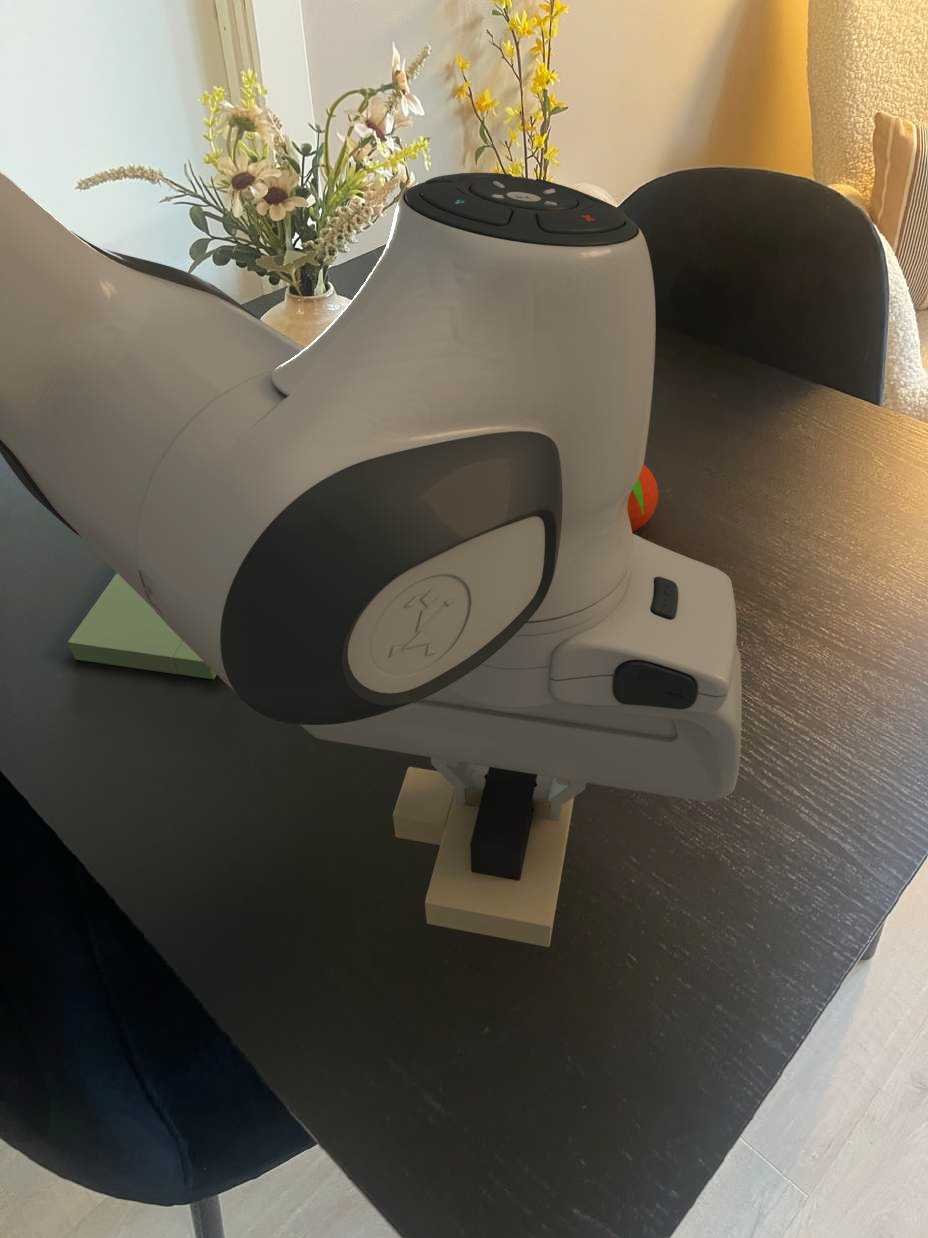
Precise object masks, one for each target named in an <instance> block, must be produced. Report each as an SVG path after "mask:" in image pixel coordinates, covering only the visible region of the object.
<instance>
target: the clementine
mask: <svg viewBox="0 0 928 1238" xmlns="http://www.w3.org/2000/svg"><path fill="white" fill-rule="evenodd" d="M658 501H659V489H658V483H657V481H656V478H655V476H654V474H653V472H652V471H651V470H650V469H649V468H648V467H647V466H646V464H645V463H644V464H643V467H642V470H641V473H640V475H639V478H638V480H637V482H636V484H635V486H634V488H633V490H632V492H631V494H630V496H629V500H628V506H627V510H628V515H629V519H630V523H631V528H632V533H633V532H636V531H637V530H639V529H640V528H642V527H643V526H644V525H646V524H647V523H648V521H649V520H650V519H651V517H652V516H653V515H654V513H655V510H656V507H657V505H658Z"/></svg>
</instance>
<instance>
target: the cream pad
mask: <svg viewBox="0 0 928 1238" xmlns="http://www.w3.org/2000/svg"><path fill="white" fill-rule="evenodd" d="M536 777H537V775H536V774H530V773H524V772H518V771H512V770H506V769H500V768H493V767H489V770H488V774H487V778H486V782H485V786H484V790H483V794H482V798H481V802H480V806H479V807H474V806H467V805H459V804H456V796H455V786H452V785H451V784H450V783H449V782H448V781H447V779H446V778H445V777H444V776H443V775H442V774H441V773H440V772H439V771H438V770H430V769H425V768H419V767H415V766H414V767H413V766H409V767H407V770H406V772H405V776H404V778H403V779H404V780H403V782H402V785H401V789H400V791H399V795H398V797H397V800H396V804H395V807H394V810H393V813H392V818H393V819H392V820H393V821H392V822H393V828H394V835H395V838H397V839H403V840H409V841H415V842H421V843H427V844H431V845H436V846H437V845H438V846H439V849H438V853H437V857H436V859H435V864H434V867H433V871H432V874H431V879H430V882H429V886H428V889H427V893H426V895H425V900H424V909H425V910H424V911H425V919H426V920H425V921H426V924H427V925H434V926H437V927H442V928H446V929H447V928H448V929H452V930H457V931H458V930H459V931H462V932H468V933H474V934H479V935H483V936H488V937H494V938H498V939H499V938H500V939H505V940H510V941H513V942H520V943H525V944H529V945H536V946H540V947H545V948H550V946H551V940H552V933H553V927H554V921H555V915H556V910H557V903H558V897H559V893H560V892H559V891H560V885H561V880H562V874H563V867H564V862H565V856H566V850H567V843H568V837H569V832H570V825H571V819H572V813H573V806H574V803H575V797H573V798H572V799H570V800H569V801H568V802H566V803H565V804H563V805H562V811H561V817H560V821H559V822H558V821H552V820H547V819H542V818H537V817H532V816H531V812H532V797H533V792H534V787H535V783H536Z"/></svg>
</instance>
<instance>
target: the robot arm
mask: <svg viewBox="0 0 928 1238" xmlns="http://www.w3.org/2000/svg"><path fill="white" fill-rule="evenodd" d="M650 255H651V254H650V251H649V248H648V243H647V241H646V238H645V236H644V234H643V232H642V230H641V229H640V227H639V226H638V224H637V223H635V221H633V220H632V219H631V218H630V217H628V215H626V213H625V211H624V210H621V209H620V208H619V207H617V206H615V205H613V204H611V203H609V202H607V201H605V200H602V199H600V198H598V197H596V196H592V195H590V194H587V193H585V192H582V191H580V190H578V189H574V188H572V187H569V186H566V185H562V184H559V183H556V182H552V181H549V180H545V179H542V178H537V177H536V178H535V179H534V178H530V177H524V176H523V177H522V176H515V175H512V174H511V173H502V172H501V173H499V172H459V173H453V174H452V173H451V174H445V175H439V176H435V177H432V178H429V179H427V180H425V181H424V182H419V183H417V184H415V185H413V186H411V187H409V188H407V189H406V190H405V191H404V192H403V193H401V195H400V197H399V198H398V201H397V203H396V207H395V210H394V214H393V219H392V224H391V228H390V233H389V237H388V240H387V243H386V246H385V248H384V250H383V252H382V254H381V256H380V257H379V259H378V261H377V262H376V264H375V265H374V267H373V269H372V271H371V272H370V273H369V275H368V276H367V278H366V280H365V281H364V283H363V284H362V286H361V287H360V288H359V290H358V291H357V293H356V294H355V295H354V297H353V298H352V299H351V301H350V302H349V303H348V304H347V305H346V306H345V308H344V309H343V310H342V311H341V312H340V314H339V315H338V316H337V317H336V318H335V319H334V320H333V321H332V323H330V325H329V326H328V327H327V328H326V329H325V330H324V331H323V332H322V333H321V334H320V335H319V336H318V337H316V338H315V339H314V340H313V341H312V342H311V343H309V345H308V346H306V347H305V346H303V344H301V343H299V342H297V341H296V340H294V339H292V338H290V337H289V336H287V335H285V334H284V333H282V332H281V331H279V330H278V329H276V328H274V327H272V326H270V325H269V324H267V323H266V322H264V321H262V320H261V319H260V318H259V317H258V316H257V315H255V314H254V313H253V312H251V311H250V310H249V309H247V308H246V307H245V306H243V304H240V302H238V301H236V300H235V299H234V298H233V297H231V296H230V295H228V294H227V293H225V292H224V291H223V290H221V289H220V288H219V287H217V286H215V285H214V284H212V283H210V282H209V281H207V280H205V279H203V278H201V277H199V276H197V275H195V274H192V273H190V272H187V271H185V270H183V269H178V268H177V267H173V266H170V265H167V264H162V263H159V262H155V261H151V260H147V259H144V258H139V257H136V256H131V255H127V254H123V253H120V252H116V251H113V250H109V249H106V248H104V247H101V246H97V245H94V244H93V243H91V242H90V241H88V240H86V239H84V238H83V237H81V236H80V235H78V234H77V233H75V232H74V231H72V230H70V229H69V227H68V228H67V226H66V225H64V224H63V223H62V222H61V221H59V219H57V217H55V216H54V215H53V214H52V213H50V211H48V210H47V209H45V208H44V207H43V206H42V205H41V204H39V203H38V202H37V201H36V200H35V199H33V197H31V195H29V194H28V193H27V192H26V191H25V190H23V189H22V188H21V187H20V186H19V185H18V184H16V183H15V182H14V181H13V180H12V179H10V178H9V177H8V176H7V175H6V174H4V173H3V172H2V171H1V170H0V454H1V456H2V458H3V459H4V460H5V462H6V463H7V465H8V466H9V468H10V469H11V471H12V472H13V473H14V474H15V476H16V477H17V479H18V481H20V483H21V484H22V485H23V486H24V488H26V490H27V491H28V492H29V493H30V494H31V495H32V496H33V497H34V499H36V500H37V502H39V503H40V504H41V505H42V506H43V507H44V508H45V509H47V510H48V511H49V512H50V513H51V514H52V515H53V516H55V518H57V519H58V520H59V521H60V522H61V523H62V524H63V525H65V526H66V527H67V528H68V529H69V530H71V532H73V533H74V534H75V535H77V536H78V537H80V538H82V539H83V540H84V541H85V543H87V544H88V545H89V546H90V547H91V548H92V549H93V550H94V551H95V552H96V553H97V554H98V555H99V556H100V557H101V558H102V559H103V560H104V561H105V562H106V563H107V564H108V565H109V566H110V568H112V569H113V570H114V571H115V572H116V574H117V573H118V574H119V575H120V576H121V577H122V578H123V579H124V580H125V581H126V582H127V583H128V584H129V585H130V586H131V587H132V588H133V589H134V590H135V591H136V592H137V593H138V594H139V595H140V596H141V597H142V598H143V599H144V600H145V601H146V602H147V603H148V604H149V605H150V606H151V607H152V608H153V609H154V611H155V612H156V613H157V614H158V615H159V616H160V617H161V618H162V619H163V621H164V622H165V623H166V624H167V625H168V626H169V627H170V628H171V629H172V630H173V631H174V632H175V633H176V634H177V635H178V636H179V637H180V638H181V639H182V640H183V641H184V642H185V643H186V644H187V645H188V646H189V647H190V648H191V649H192V650H193V651H194V652H195V653H196V654H197V655H198V656H199V657H200V658H201V659H202V660H203V661H204V662H205V663H206V664H207V665H208V666H209V667H210V668H211V669H212V670H213V671H214V672H215V673H216V674H217V675H216V676H218V677H219V678H220V679H221V680H222V681H223V683H225V684H226V685H227V686H228V687H229V688H230V689H231V690H232V691H234V693H236V694H237V696H238V697H239V699H240V700H242V701H243V702H244V703H245V705H247V706H248V707H250V709H252V710H254V711H255V712H257V713H258V714H260V715H262V716H264V717H266V718H268V719H271V720H274V721H277V722H281V723H285V724H291V725H300V726H301V727H302V728H303V729H304V730H305V731H306V732H308V734H310V735H311V736H312V737H314V738H315V739H318V740H323V741H327V742H335V743H341V744H346V745H347V744H348V745H354V746H358V747H367V748H371V749H377V750H378V749H379V750H384V751H390V752H396V753H402V754H409V755H414V756H421V757H426V758H430V765H432V766H433V767H434V769H435V770H436V771H438V772H440V773H441V774H442V775H443V776H444V777H445V778H446V779H447V781H448V782H449V783H450V784H451V785H452V786H455V796H456V804H459V805H467V806H474V807H479V806H480V802H481V798H482V794H483V790H484V786H485V782H486V778H487V774H488V770H489V767H493V768H500V769H506V770H512V771H518V772H524V773H530V774H536V775H537V777H536V783H535V787H534V792H533V797H532V812H531V816H532V817H537V818H542V819H547V820H552V821H558V822H559V821H560V817H561V811H562V805H563V804H565V803H566V802H568V801H569V800H570V799H572V798H573V797H574V798H575V797H577V796H578V795H580V794H581V793H582V792H583V791H585V790H586V788H587V784H592V785H599V786H605V787H610V788H617V789H622V790H627V791H635V792H641V793H646V794H652V795H653V794H654V795H659V796H667V797H672V798H678V799H684V800H690V801H695V802H701V803H713V802H716V801H718V800H720V799H723V798H725V797H727V796H729V795H731V794H732V793H734V791H735V789H736V785H737V782H738V778H739V772H740V764H741V751H742V749H741V748H742V747H741V746H742V725H743V724H742V723H743V698H742V697H743V691H742V689H743V685H742V684H743V681H742V680H743V677H742V660H741V659H742V658H741V654H740V650H739V648H738V645H737V637H738V636H737V635H738V633H737V630H738V629H737V628H738V627H737V626H738V625H737V623H738V622H737V621H738V620H737V608H736V601H735V595H734V587H733V582H732V580H731V578H730V576H729V575H727V574H726V573H725V572H723V571H722V570H721V569H719V568H717V567H714V566H712V565H710V564H706V563H704V562H701V561H698V560H696V559H693V558H691V557H687V556H685V555H683V554H681V553H678V552H676V551H672V550H670V549H668V548H666V547H664V546H661V545H659V544H657V543H654V542H652V541H649V540H647V539H645V538H643V537H641V536H639V535H637V534H635V533H633V532H632V528H631V523H630V519H629V515H628V510H627V506H628V500H629V496H630V494H631V492H632V490H633V488H634V486H635V484H636V482H637V480H638V478H639V475H640V473H641V470H642V467H643V464H644V465H645V458H646V452H647V445H648V436H649V431H650V430H649V428H650V422H651V411H652V400H653V392H654V377H655V376H654V375H655V360H656V335H657V334H656V333H657V332H656V331H657V327H656V325H657V323H656V320H657V319H656V317H657V316H656V314H657V313H656V312H657V311H656V293H655V292H656V291H655V290H656V289H655V281H654V273H653V266H652V260H651V256H650Z"/></svg>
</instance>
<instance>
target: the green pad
mask: <svg viewBox="0 0 928 1238" xmlns="http://www.w3.org/2000/svg"><path fill="white" fill-rule="evenodd" d="M67 644H68V647H69V649H70V651H71V653H72V656H73V658H74V659H75V660H77V661H84V662H89V663H90V662H91V663H97V664H103V665H104V664H105V665H110V666H119V667H123V668H124V667H125V668H132V669H139V670H145V671H153V672H158V673H159V672H160V673H165V674H166V673H167V674H172V675H181V676H187V677H194V678H202V679H206V680H207V679H208V680H215V678H217V676H218V675H217V674H216V673H215V672H214V671H213V670H212V669H211V668H210V667H209V666H208V665H207V664H206V663H205V662H204V661H203V660H202V659H201V658H200V657H199V656H198V655H197V654H196V653H195V652H194V651H193V650H192V649H191V648H190V647H189V646H188V645H187V644H186V643H185V642H184V641H183V640H182V639H181V638H180V637H179V636H178V635H177V634H176V633H175V632H174V631H173V630H172V629H171V628H170V627H169V626H168V625H167V624H166V623H165V622H164V621H163V619H162V618H161V617H160V616H159V615H158V614H157V613H156V612H155V611H154V609H153V608H152V607H151V606H150V605H149V604H148V603H147V602H146V601H145V600H144V599H143V598H142V597H141V596H140V595H139V594H138V593H137V592H136V591H135V590H134V589H133V588H132V587H131V586H130V585H129V584H128V583H127V582H126V581H125V580H124V579H123V578H122V577H121V576H120V575H119V574H118V573H117V572H116V574H115V575H114V576H113V578H112V579H111V580H110V582H109V583H108V585H107V586H106V587H105V589H104V591H103V592H102V593H101V594H100V596H99V597H98V599H97V600H96V602H95V603H94V604H93V606H92V607H91V609H90V610H89V611H88V613H87V614H86V615H85V617H84V618H83V620H82V621H81V623H80V624H79V625H78V627H77V628H76V630H75V631H74V633H73V634H72V636H71V637H70V638H69V639H68V641H67Z"/></svg>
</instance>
